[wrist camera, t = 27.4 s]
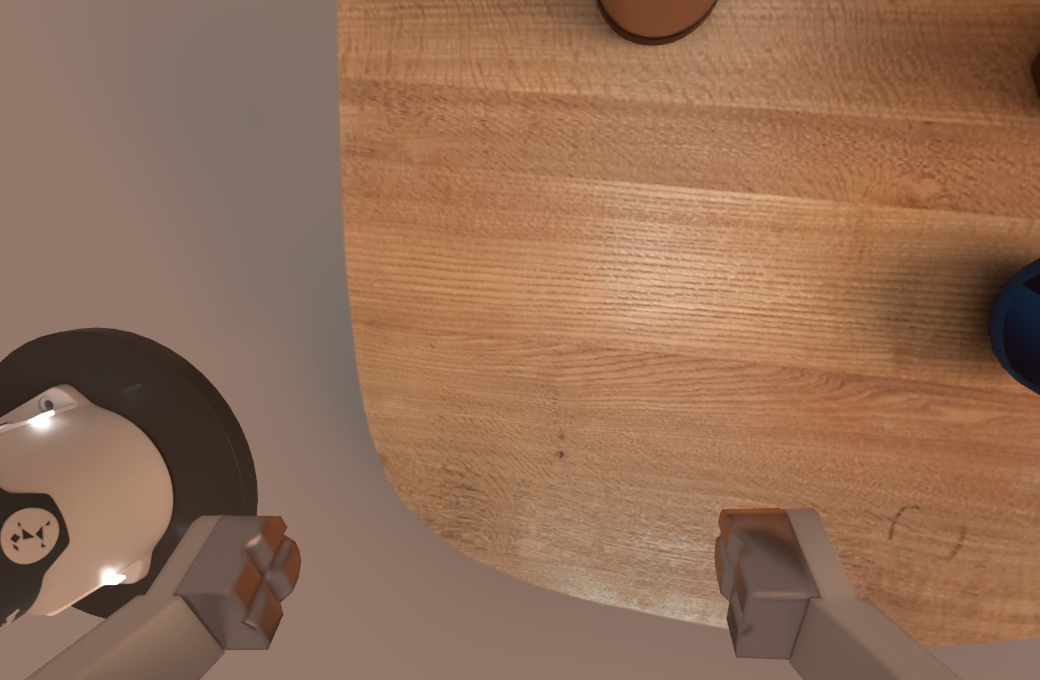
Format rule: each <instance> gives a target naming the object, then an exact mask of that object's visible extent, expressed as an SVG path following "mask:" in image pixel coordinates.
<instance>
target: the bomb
mask: <svg viewBox="0 0 1040 680" xmlns="http://www.w3.org/2000/svg"><path fill="white" fill-rule="evenodd" d="M988 332H989V336H990V341H991V346H992V350H993V351H994V353H995V355H996V357H997V358H998V360H999V362H1000V363H1001V365H1002V367H1003V368H1004V369H1005V370H1006V371H1007V372H1008V373H1009V374H1010V375H1011V376H1012V377H1013V378H1014V379H1015V380H1017V381H1018V382H1019V383H1021V384H1022V385H1024V386H1026V387H1027V388H1029V389H1030V390H1032V391H1034V392H1035V393H1037V394H1039V395H1040V258H1039V259H1037V260H1035V261H1033V262H1032V263H1030V264H1028V265H1026V266H1025V267H1023V268H1022V269H1021V270H1020V271H1019V272H1017V273H1016V274H1015V275H1014V276H1013V277H1012V278H1011V279H1010V280H1009V281H1008V282H1006V283H1005V285H1004V286H1003V288H1002V289H1001V291H1000V292H999V294H998V296H997V297H996V299H995V300H994V303H993V306H992V309H991V312H990V317H989V328H988Z"/></svg>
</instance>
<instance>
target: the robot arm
mask: <svg viewBox="0 0 1040 680" xmlns="http://www.w3.org/2000/svg"><path fill="white" fill-rule="evenodd" d="M172 511H173V488H172V483H171V478H170V475H169V472H168V469H167V466H166V464H165V462H164V460H163V458H162V456H161V454H160V453H159V451H158V449H157V448H156V446H155V445H154V444H153V442H152V441H151V440H150V439H149V437H148V436H147V435H146V434H145V433H144V432H143V431H142V430H141V429H140V428H138V427H137V426H136V425H135V424H134V423H132V422H131V421H129V420H128V419H126V418H125V417H123V416H121V415H119V414H117V413H115V412H113V411H110V410H107V409H105V408H102V407H99V406H97V405H95V404H93V403H91V402H90V401H89V400H88V399H87V398H86V397H85V396H84V395H82V394H81V393H80V392H79V391H78V390H76V389H75V388H74V387H72V386H70V385H68V384H60V385H57V386H54V387H52V388H49V389H48V390H46V391H44V392H43V393H41V394H39V395H38V396H36V397H34V398H33V399H31V400H29V401H28V402H26V403H24V404H22V405H21V406H19V407H17V408H16V409H14V410H12V411H11V412H9V413H7V414H6V415H4V416H2V417H1V418H0V631H1V630H3V629H4V628H5V627H7V626H8V625H9V624H10V623H11V622H13V621H14V620H16V619H17V618H19V617H20V616H22V615H23V614H28V615H43V614H46V615H47V616H52V615H55V614H57V613H59V612H61V611H62V610H64V609H66V608H67V607H69V606H71V605H72V604H74V603H76V602H77V601H79V600H80V599H82V598H84V597H85V596H87V595H89V594H90V593H92V592H93V591H95V590H97V589H98V588H100V587H102V586H103V585H112V584H133V583H136V582H137V581H139V580H141V579H142V578H144V577H145V576H146V575H147V574H148V571H149V568H150V564H151V558H152V552H153V550H154V548H155V546H156V544H157V543H158V542H159V541H160V539H161V538H162V536H163V535H164V533H165V532H166V530H167V528H168V525H169V523H170V520H171V516H172ZM718 523H719V527H720V531H721V535H720V536H719V537H718V538H716V543H715V567H716V574H717V580H718V584H719V588H720V593H721V594H722V595H723V596H724V597H725V598H726V599H727V600H728V601H729V607H728V613H727V622H728V626H729V630H730V634H731V638H732V642H733V646H734V650H735V654H736V657H739V658H762V659H785V660H790V662H789V663H790V664H791V665H792V666H793V667H794V669H795V670H796V671H797V672H798V674H799V675H800V676H801V677H802V678H803V680H963V679H961V678H960V677H959V676H958V675H957V674H955V673H954V672H953V671H952V670H951V669H950V668H948V667H947V666H946V665H945V664H944V663H942V662H941V661H940V660H939V659H938V658H936V657H935V656H934V655H933V654H932V653H931V652H929V651H928V650H927V649H926V648H925V647H924V646H922V645H921V644H920V643H919V642H918V641H916V640H915V639H914V638H913V637H912V636H911V635H909V634H908V633H907V632H906V631H905V630H903V629H902V628H901V627H900V626H899V625H897V624H896V623H895V622H894V621H893V620H892V619H890V618H889V617H888V616H887V615H886V614H884V613H883V612H882V611H881V610H880V609H879V608H877V607H876V606H875V605H874V604H873V603H871V602H870V601H869V600H868V599H857V597H856V594H855V592H854V590H853V588H852V586H851V583H850V581H849V579H848V577H847V575H846V572H845V570H844V568H843V566H842V564H841V561H840V559H839V557H838V555H837V553H836V550H835V548H834V546H833V544H832V542H831V539H830V537H829V535H828V533H827V531H826V528H825V526H824V524H823V522H822V520H821V517H820V515H819V513H818V512H817V511H816V510H815V509H813V508H797V509H780V508H762V509H725V510H722V511H721V513H720V516H719V522H718ZM286 529H287V526H286V524H285V522H284V521H283V519H282V518H281V516H229V515H217V516H201V517H199V518H198V519H197V520H195V521H194V522H193V523H192V524H191V526H190V527H189V529H188V530H187V532H186V533H185V535H184V537H183V538H182V540H181V541H180V543H179V544H178V546H177V547H176V549H175V550H174V552H173V553H172V555H171V556H170V558H169V559H168V561H167V563H166V564H165V566H164V567H163V569H162V570H161V572H160V573H159V575H158V576H157V578H156V579H155V581H154V582H153V584H152V585H151V587H150V589H149V590H148V592H147V593H146V595H137V596H136V597H135V598H133V599H132V600H131V601H129V602H128V603H127V604H125V605H124V606H123V607H121V608H120V609H119V610H117V611H116V612H115V613H113V614H112V615H111V616H109V617H108V618H107V619H105V620H104V621H103V622H101V623H100V624H99V625H97V626H96V627H95V628H93V629H92V630H90V631H89V632H88V633H86V634H85V635H84V636H82V637H81V638H80V639H78V640H77V641H76V642H74V643H73V644H72V645H71V646H69V647H68V648H66V649H65V650H64V651H62V652H61V653H60V654H59V655H57V656H56V657H54V658H53V659H52V660H50V661H49V662H48V663H46V664H45V665H43V666H42V667H41V668H40V669H38V670H37V671H35V672H34V673H33V674H31V675H30V676H29V677H27V678H26V679H25V680H200V679H201V678H202V677H203V675H204V674H205V673H206V672H207V671H208V670H209V669H210V668H211V667H212V666H213V665H214V664H215V663H216V662H217V661H218V660H219V659H220V657H221V656H222V655H223V654H224V653H225V652H224V650H268V649H269V646H270V644H271V642H272V639H273V637H274V635H275V632H276V630H277V628H278V625H279V623H280V620H281V618H282V616H283V611H282V607H281V601H283V600H284V599H285V598H286V597H287V596H288V595H289V594H291V593H292V592H293V590H294V587H295V585H296V582H297V580H298V577H299V572H300V565H301V557H300V551H299V548H298V546H297V544H296V542H295V541H293V540H292V539H290V538H289V537H287V536H286V535H284V533H285V531H286Z"/></svg>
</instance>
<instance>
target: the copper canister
mask: <svg viewBox="0 0 1040 680" xmlns="http://www.w3.org/2000/svg"><path fill="white" fill-rule="evenodd" d="M596 1H597V4H598V7H599V10H600V12H601V14H602V16H603V18H604V19H605V21H606V22H607V23H608V25H609V26H610V27H611V28H612V29H613V30H614V31H615V32H616V33H618V34H619V35H620V36H622V37H624V38H625V39H627V40H630V41H632V42H635V43H638V44H643V45H662V44H667V43H671V42H674V41H677V40H679V39H681V38H683V37H685V36H687V35H688V34H690V33H691V32H693V31H694V30H695V29H696V28H698V27H699V26H700V25H701V24H702V23H703V22H704V21H705V19H706V18H707V17H708V16H709V15H710V13H711V11H712V10H713V8H714V7H715V5H716V3H717V1H718V0H596Z"/></svg>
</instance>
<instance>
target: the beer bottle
mask: <svg viewBox="0 0 1040 680" xmlns="http://www.w3.org/2000/svg"><path fill="white" fill-rule="evenodd" d="M1032 72H1033V75H1034V78H1035V81H1036V84H1037V87H1038V90H1039V93H1040V54H1039V55H1038V57H1037V59H1036V61H1035V63H1034V65H1033V67H1032Z"/></svg>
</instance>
